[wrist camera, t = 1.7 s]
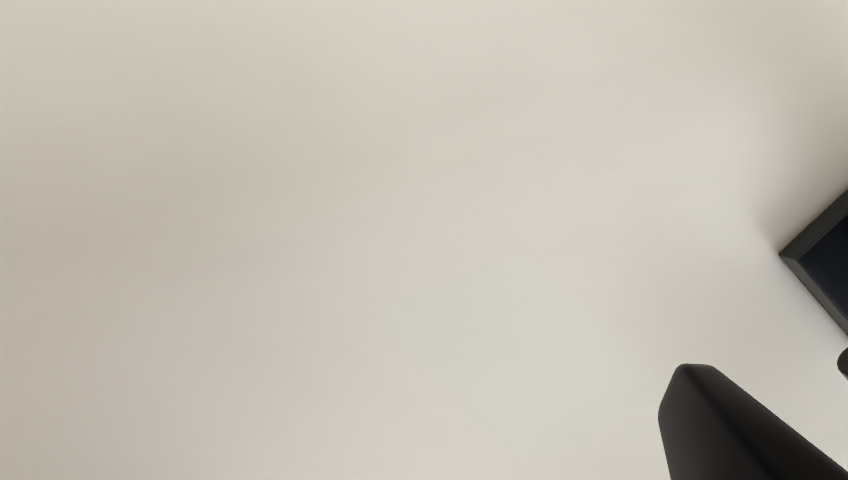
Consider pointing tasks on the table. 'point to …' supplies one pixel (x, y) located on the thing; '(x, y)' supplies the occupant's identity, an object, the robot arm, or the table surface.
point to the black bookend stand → (824, 259)
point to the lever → (843, 363)
